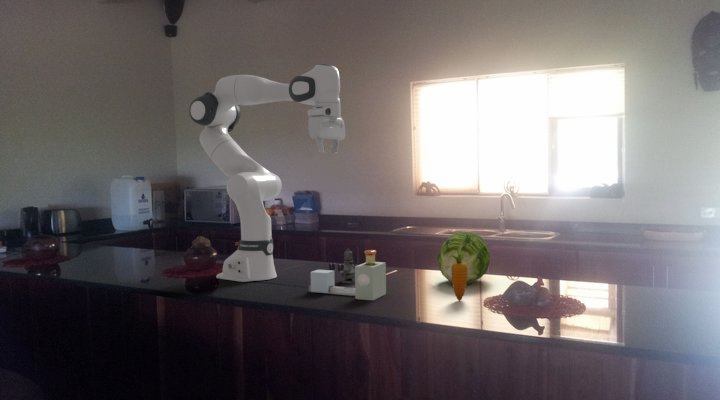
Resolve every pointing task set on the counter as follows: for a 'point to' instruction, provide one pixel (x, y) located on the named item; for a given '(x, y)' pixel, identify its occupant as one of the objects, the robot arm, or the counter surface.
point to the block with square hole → (370, 281)
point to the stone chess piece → (348, 268)
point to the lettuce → (465, 255)
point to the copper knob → (370, 257)
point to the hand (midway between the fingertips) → (328, 152)
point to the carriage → (322, 280)
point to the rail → (339, 290)
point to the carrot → (459, 275)
